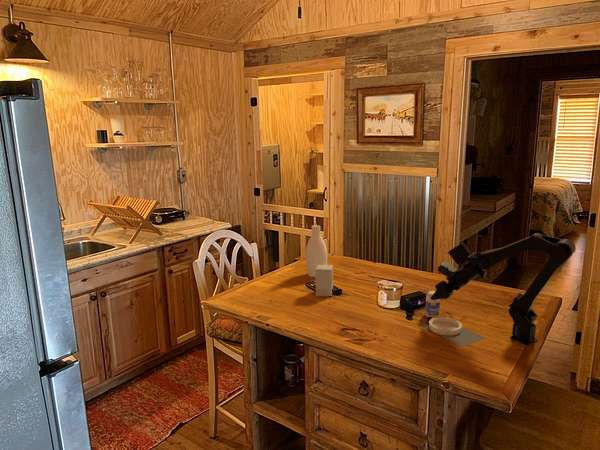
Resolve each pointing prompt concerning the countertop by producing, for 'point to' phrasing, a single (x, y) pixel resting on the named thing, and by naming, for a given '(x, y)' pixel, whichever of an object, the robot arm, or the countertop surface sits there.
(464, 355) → the countertop surface
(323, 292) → the supplement box
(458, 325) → the dish
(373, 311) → the countertop surface
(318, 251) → the bottle
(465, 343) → the placemat
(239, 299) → the countertop surface
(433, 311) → the pill bottle
